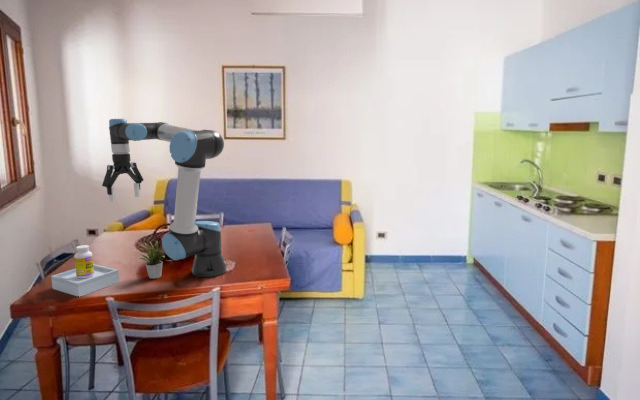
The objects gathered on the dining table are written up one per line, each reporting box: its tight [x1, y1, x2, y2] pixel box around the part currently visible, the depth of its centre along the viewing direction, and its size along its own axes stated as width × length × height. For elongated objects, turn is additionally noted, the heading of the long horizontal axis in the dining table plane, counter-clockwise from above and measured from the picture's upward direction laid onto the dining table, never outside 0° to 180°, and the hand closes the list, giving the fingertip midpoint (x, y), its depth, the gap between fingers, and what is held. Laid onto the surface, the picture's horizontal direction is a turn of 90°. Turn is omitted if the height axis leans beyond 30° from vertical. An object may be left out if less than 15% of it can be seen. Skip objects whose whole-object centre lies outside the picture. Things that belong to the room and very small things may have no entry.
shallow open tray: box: [50, 263, 120, 298], centre depth 190 cm, size 18×18×6 cm
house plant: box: [136, 240, 166, 279], centre depth 199 cm, size 14×14×16 cm
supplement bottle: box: [73, 244, 94, 279], centre depth 188 cm, size 7×7×13 cm
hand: (125, 199), depth 210 cm, fingers open, 13 cm apart
